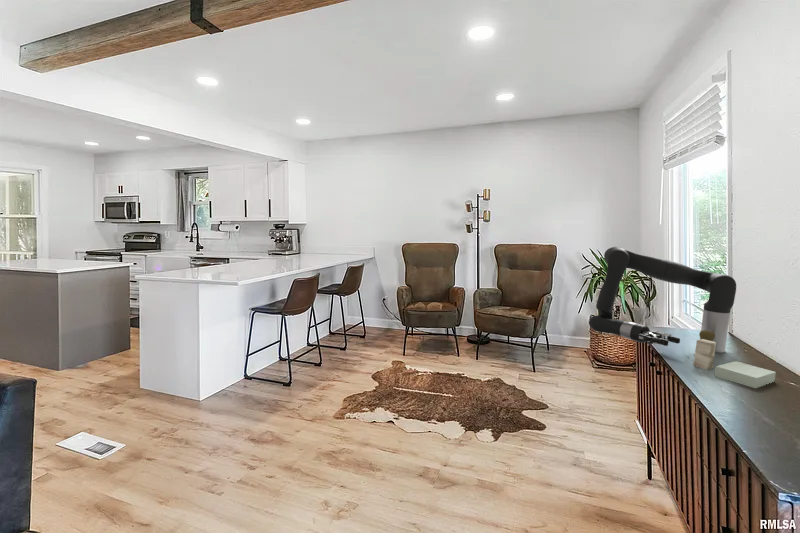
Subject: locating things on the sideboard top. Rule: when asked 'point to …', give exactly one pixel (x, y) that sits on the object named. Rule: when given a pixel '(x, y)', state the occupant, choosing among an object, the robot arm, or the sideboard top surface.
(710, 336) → the brown rounded piece
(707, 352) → the maple block
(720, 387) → the sideboard top surface
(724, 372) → the sage block
